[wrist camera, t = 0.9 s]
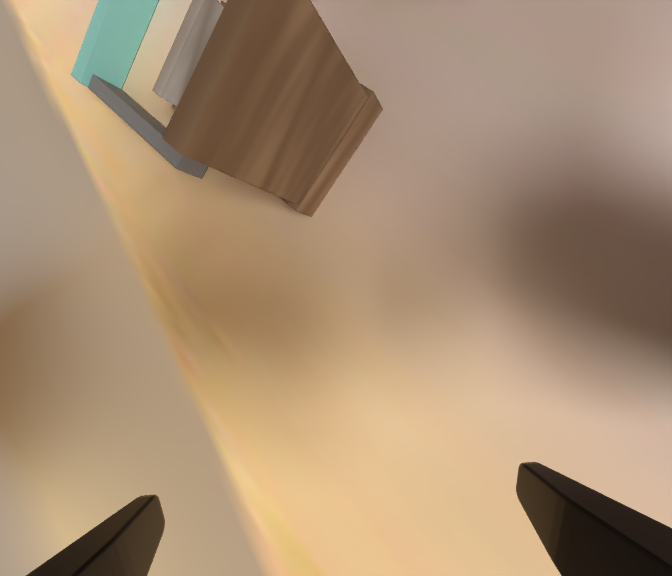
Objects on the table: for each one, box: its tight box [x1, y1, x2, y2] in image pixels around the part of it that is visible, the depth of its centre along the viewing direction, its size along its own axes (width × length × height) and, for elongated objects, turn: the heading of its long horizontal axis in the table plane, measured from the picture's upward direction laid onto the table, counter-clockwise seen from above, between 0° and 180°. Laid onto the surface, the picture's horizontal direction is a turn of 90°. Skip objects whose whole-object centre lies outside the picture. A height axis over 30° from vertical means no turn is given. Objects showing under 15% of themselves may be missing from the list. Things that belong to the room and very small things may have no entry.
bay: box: [71, 0, 208, 178], centre depth 25 cm, size 15×14×3 cm
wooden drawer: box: [153, 0, 383, 217], centre depth 18 cm, size 14×8×11 cm, turn 52°
